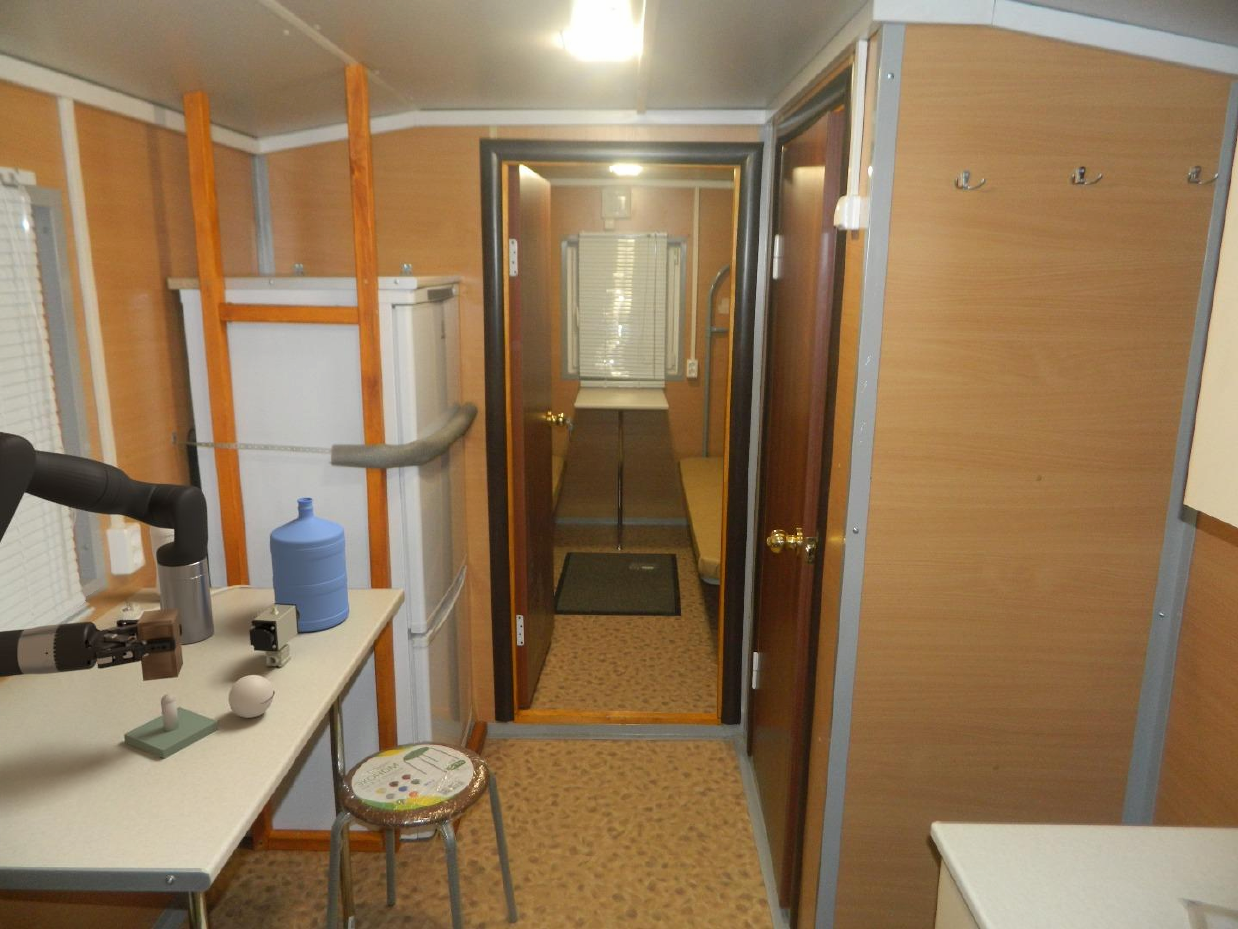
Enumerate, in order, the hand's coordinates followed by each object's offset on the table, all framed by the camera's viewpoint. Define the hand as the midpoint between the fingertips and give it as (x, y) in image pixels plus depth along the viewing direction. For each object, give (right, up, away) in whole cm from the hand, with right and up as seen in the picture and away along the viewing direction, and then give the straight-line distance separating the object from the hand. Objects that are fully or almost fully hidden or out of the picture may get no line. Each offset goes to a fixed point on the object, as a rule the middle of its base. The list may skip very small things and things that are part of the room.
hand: (178, 636), depth 136 cm
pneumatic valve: (+4, -12, +30) cm, 32 cm away
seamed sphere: (+8, -16, +12) cm, 21 cm away
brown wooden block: (-3, -6, 0) cm, 7 cm away
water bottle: (-33, -3, +61) cm, 70 cm away
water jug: (+4, -7, +50) cm, 51 cm away
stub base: (-3, -18, +3) cm, 18 cm away
